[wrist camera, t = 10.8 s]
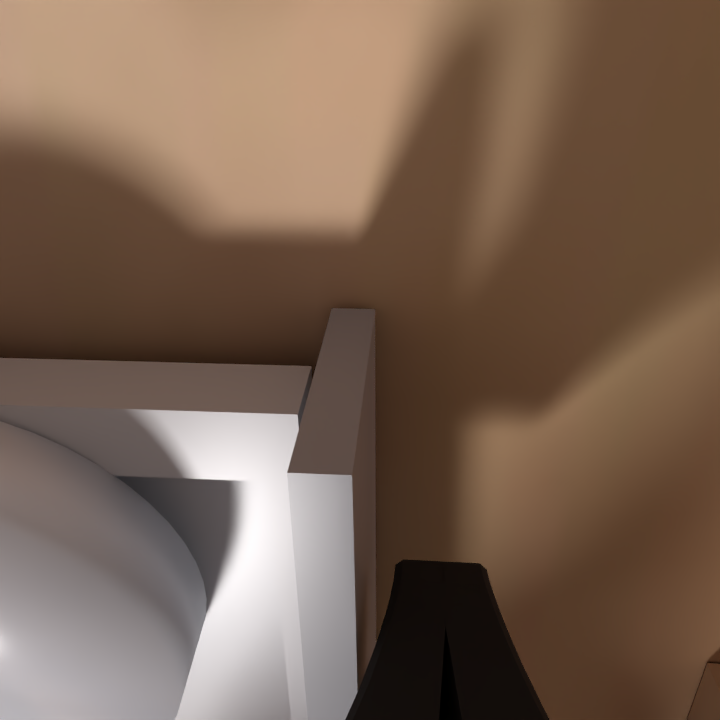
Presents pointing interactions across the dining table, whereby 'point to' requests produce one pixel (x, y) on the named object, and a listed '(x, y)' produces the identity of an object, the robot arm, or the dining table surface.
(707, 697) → the pedestal
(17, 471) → the disc
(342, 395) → the grey shallow open box
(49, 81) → the dining table surface
